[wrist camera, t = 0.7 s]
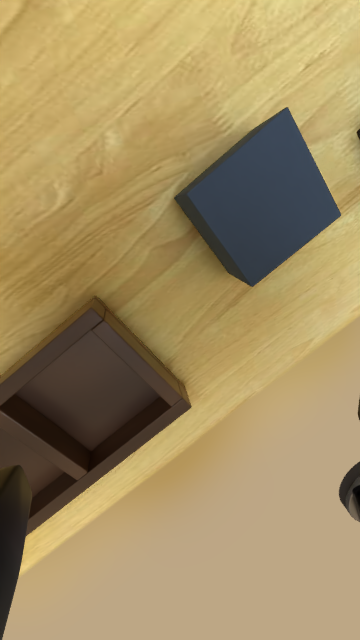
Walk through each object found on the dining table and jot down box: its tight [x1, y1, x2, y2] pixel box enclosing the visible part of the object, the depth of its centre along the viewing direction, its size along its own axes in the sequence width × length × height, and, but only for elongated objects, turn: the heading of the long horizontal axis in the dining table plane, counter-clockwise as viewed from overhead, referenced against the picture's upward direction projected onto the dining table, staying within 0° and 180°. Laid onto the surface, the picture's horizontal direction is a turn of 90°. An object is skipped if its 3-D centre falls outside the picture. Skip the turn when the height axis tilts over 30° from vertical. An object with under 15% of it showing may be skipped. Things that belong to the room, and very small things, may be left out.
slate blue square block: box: [174, 108, 341, 287], centre depth 17 cm, size 6×6×4 cm
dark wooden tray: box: [0, 296, 192, 536], centre depth 20 cm, size 9×18×3 cm, turn 128°
